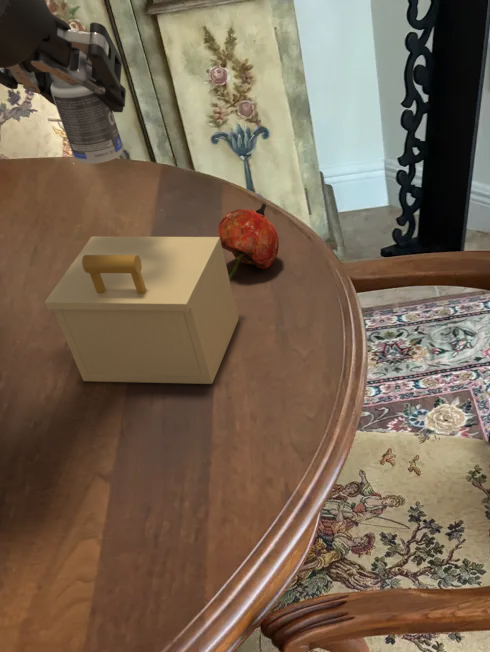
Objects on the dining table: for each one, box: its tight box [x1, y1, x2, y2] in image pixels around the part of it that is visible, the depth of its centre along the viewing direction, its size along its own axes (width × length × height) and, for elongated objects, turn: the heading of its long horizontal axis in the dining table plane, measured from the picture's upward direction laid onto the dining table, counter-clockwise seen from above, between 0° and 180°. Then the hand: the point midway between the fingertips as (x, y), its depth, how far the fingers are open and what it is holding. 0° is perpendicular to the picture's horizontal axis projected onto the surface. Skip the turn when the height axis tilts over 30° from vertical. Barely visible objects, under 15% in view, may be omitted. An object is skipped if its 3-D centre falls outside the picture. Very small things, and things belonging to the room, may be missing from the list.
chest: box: [52, 245, 240, 385], centre depth 81 cm, size 12×14×9 cm
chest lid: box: [44, 235, 221, 311], centre depth 76 cm, size 13×14×4 cm
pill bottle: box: [49, 64, 124, 165], centre depth 72 cm, size 5×5×8 cm
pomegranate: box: [217, 202, 280, 280], centre depth 93 cm, size 7×7×10 cm
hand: (93, 101), depth 73 cm, fingers closed on pill bottle, 4 cm apart
